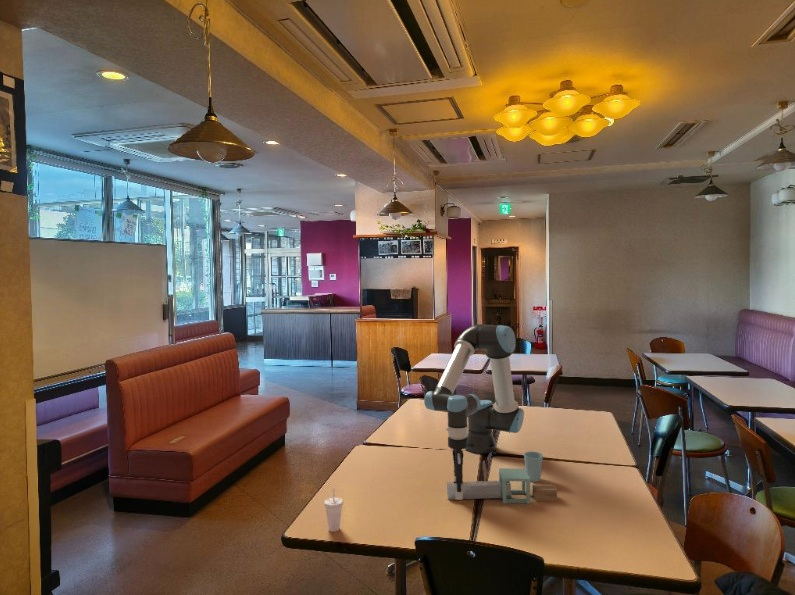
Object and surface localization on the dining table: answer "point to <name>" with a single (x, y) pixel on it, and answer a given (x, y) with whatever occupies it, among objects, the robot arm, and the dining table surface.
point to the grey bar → (479, 489)
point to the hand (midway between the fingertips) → (458, 496)
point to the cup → (533, 465)
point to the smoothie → (333, 512)
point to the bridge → (515, 475)
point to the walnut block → (544, 492)
